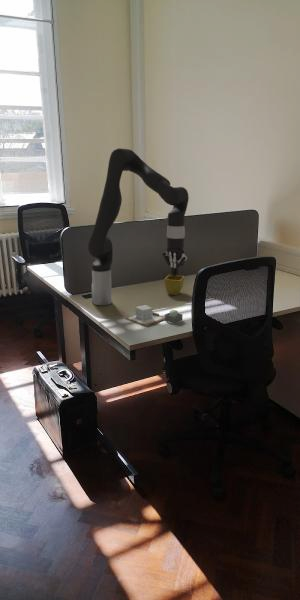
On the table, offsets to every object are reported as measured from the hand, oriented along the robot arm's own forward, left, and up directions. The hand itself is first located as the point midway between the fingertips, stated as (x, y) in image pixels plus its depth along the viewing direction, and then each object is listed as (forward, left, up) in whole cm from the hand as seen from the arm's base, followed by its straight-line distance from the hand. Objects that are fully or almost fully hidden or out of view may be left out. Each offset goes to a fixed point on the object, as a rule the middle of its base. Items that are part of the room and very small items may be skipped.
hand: (174, 275), depth 187 cm
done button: (0, 0, -21) cm, 21 cm away
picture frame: (-11, -7, -21) cm, 24 cm away
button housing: (0, 0, -21) cm, 21 cm away
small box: (-11, -8, -20) cm, 25 cm away
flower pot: (-25, +30, -21) cm, 44 cm away
